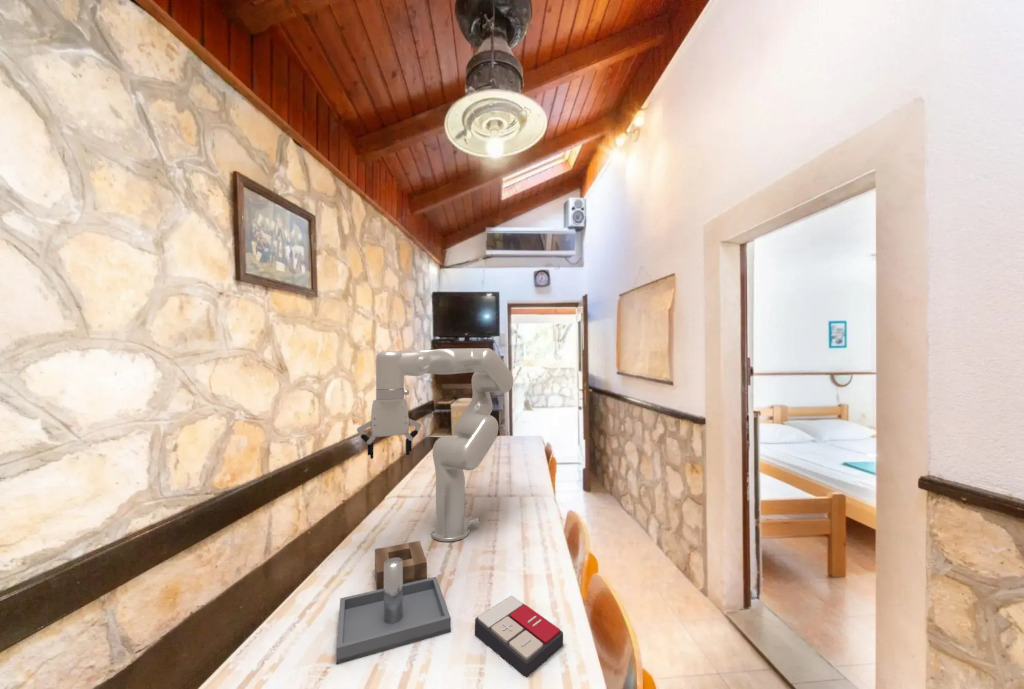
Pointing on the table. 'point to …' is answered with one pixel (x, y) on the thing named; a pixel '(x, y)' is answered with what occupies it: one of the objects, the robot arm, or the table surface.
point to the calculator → (518, 635)
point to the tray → (371, 634)
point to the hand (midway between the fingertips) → (389, 455)
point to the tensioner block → (411, 562)
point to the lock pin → (393, 590)
